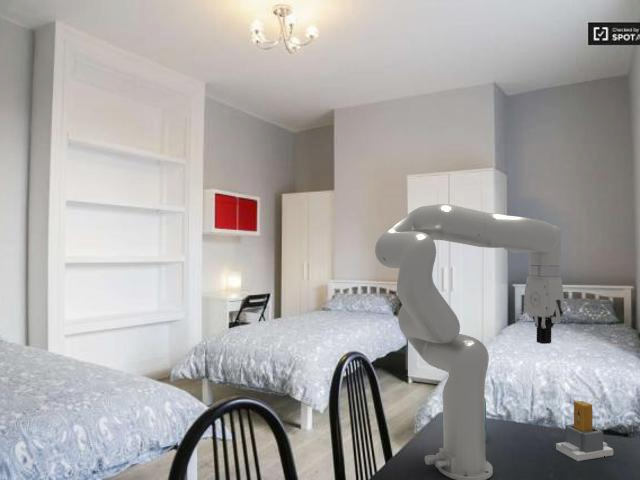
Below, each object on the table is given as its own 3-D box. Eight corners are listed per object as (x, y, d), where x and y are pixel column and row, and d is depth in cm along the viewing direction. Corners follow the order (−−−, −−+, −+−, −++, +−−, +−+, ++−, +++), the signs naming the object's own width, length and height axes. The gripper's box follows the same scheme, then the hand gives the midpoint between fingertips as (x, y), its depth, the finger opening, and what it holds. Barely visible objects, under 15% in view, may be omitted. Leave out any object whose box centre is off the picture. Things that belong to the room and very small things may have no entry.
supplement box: (594, 444, 121) (593, 404, 121) (582, 445, 120) (582, 405, 120) (584, 438, 124) (583, 400, 124) (572, 440, 123) (572, 401, 123)
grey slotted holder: (577, 461, 117) (577, 436, 117) (556, 449, 124) (555, 426, 124) (613, 455, 120) (612, 431, 120) (590, 443, 127) (590, 421, 127)
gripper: (513, 271, 132) (513, 338, 132) (552, 274, 118) (552, 349, 117) (537, 271, 134) (536, 337, 134) (578, 274, 120) (577, 348, 119)
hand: (543, 342), depth 126 cm, fingers closed
